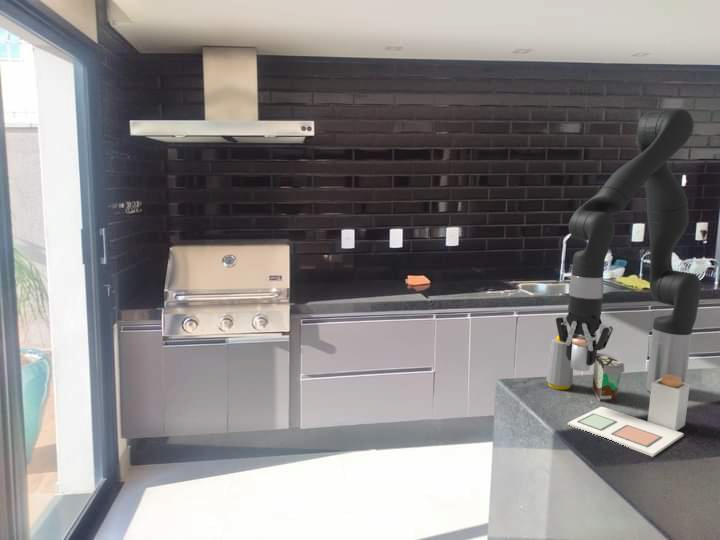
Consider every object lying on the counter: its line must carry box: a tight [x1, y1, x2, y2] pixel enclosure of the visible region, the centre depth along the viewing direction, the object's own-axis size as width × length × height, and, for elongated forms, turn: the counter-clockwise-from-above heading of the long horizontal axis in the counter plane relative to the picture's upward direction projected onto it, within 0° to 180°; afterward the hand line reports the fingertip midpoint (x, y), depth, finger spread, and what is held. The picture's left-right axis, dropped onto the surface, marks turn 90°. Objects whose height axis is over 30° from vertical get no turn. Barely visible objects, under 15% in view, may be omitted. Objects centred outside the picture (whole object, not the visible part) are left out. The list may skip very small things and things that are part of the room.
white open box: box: [647, 378, 691, 431], centre depth 130 cm, size 6×6×10 cm
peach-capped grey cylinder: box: [571, 335, 591, 372], centre depth 137 cm, size 5×5×8 cm
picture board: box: [567, 406, 684, 458], centre depth 127 cm, size 16×19×1 cm
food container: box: [592, 352, 625, 403], centre depth 147 cm, size 12×6×10 cm, turn 168°
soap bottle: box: [545, 323, 574, 391], centre depth 153 cm, size 7×7×18 cm
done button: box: [661, 374, 681, 389], centre depth 130 cm, size 4×4×2 cm
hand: (580, 361), depth 138 cm, fingers closed on peach-capped grey cylinder, 4 cm apart
